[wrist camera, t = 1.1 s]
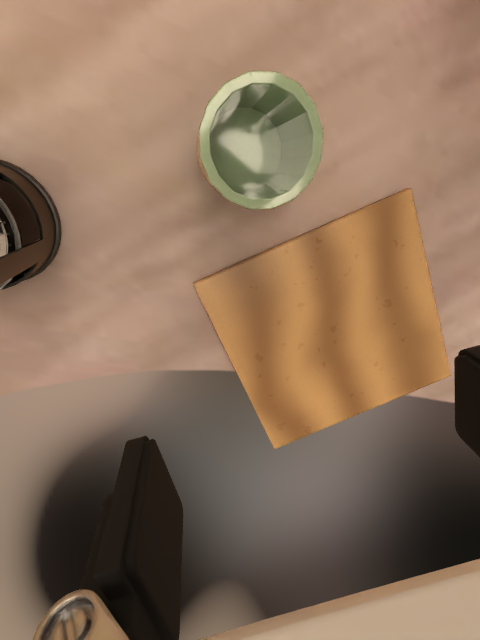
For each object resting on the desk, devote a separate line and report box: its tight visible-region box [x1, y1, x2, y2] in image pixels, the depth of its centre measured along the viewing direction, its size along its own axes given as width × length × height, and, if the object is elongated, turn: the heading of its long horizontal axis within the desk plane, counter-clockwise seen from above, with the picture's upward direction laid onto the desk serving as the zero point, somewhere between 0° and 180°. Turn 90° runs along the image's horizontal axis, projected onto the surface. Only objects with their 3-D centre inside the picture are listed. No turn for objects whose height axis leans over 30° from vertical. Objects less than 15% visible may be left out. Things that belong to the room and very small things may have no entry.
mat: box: [194, 188, 451, 449], centre depth 36 cm, size 20×20×1 cm
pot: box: [197, 71, 323, 209], centre depth 25 cm, size 7×7×9 cm
